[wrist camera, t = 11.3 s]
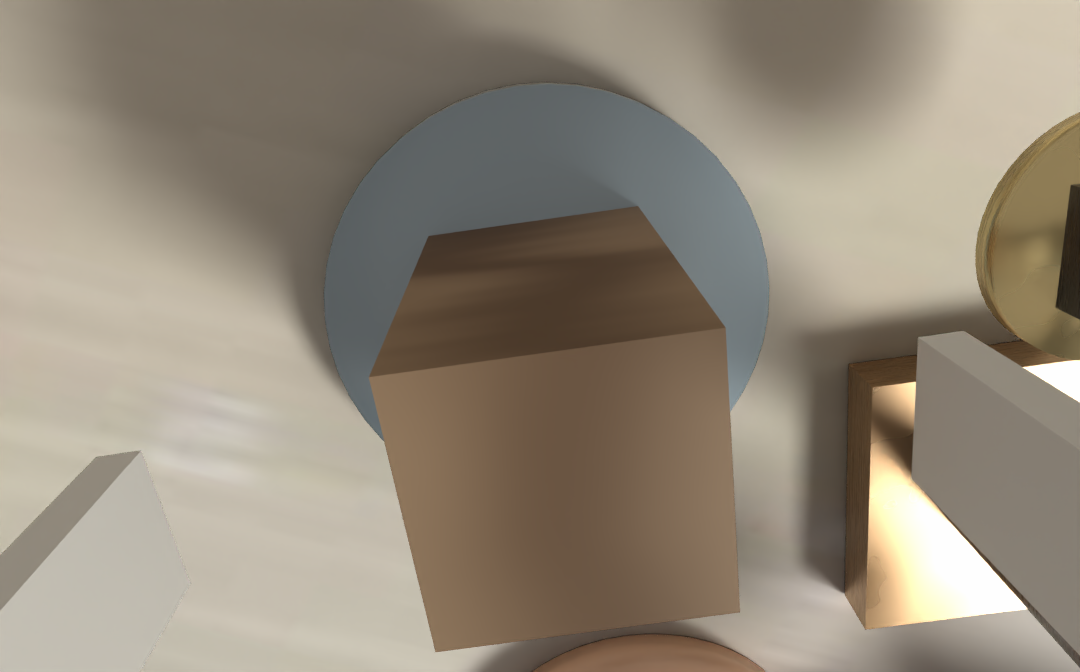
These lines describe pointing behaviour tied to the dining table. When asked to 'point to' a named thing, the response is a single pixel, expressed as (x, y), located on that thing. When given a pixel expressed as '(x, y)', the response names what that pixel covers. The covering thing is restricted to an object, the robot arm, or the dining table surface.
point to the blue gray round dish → (540, 209)
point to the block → (559, 432)
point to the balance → (889, 403)
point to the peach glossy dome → (650, 656)
